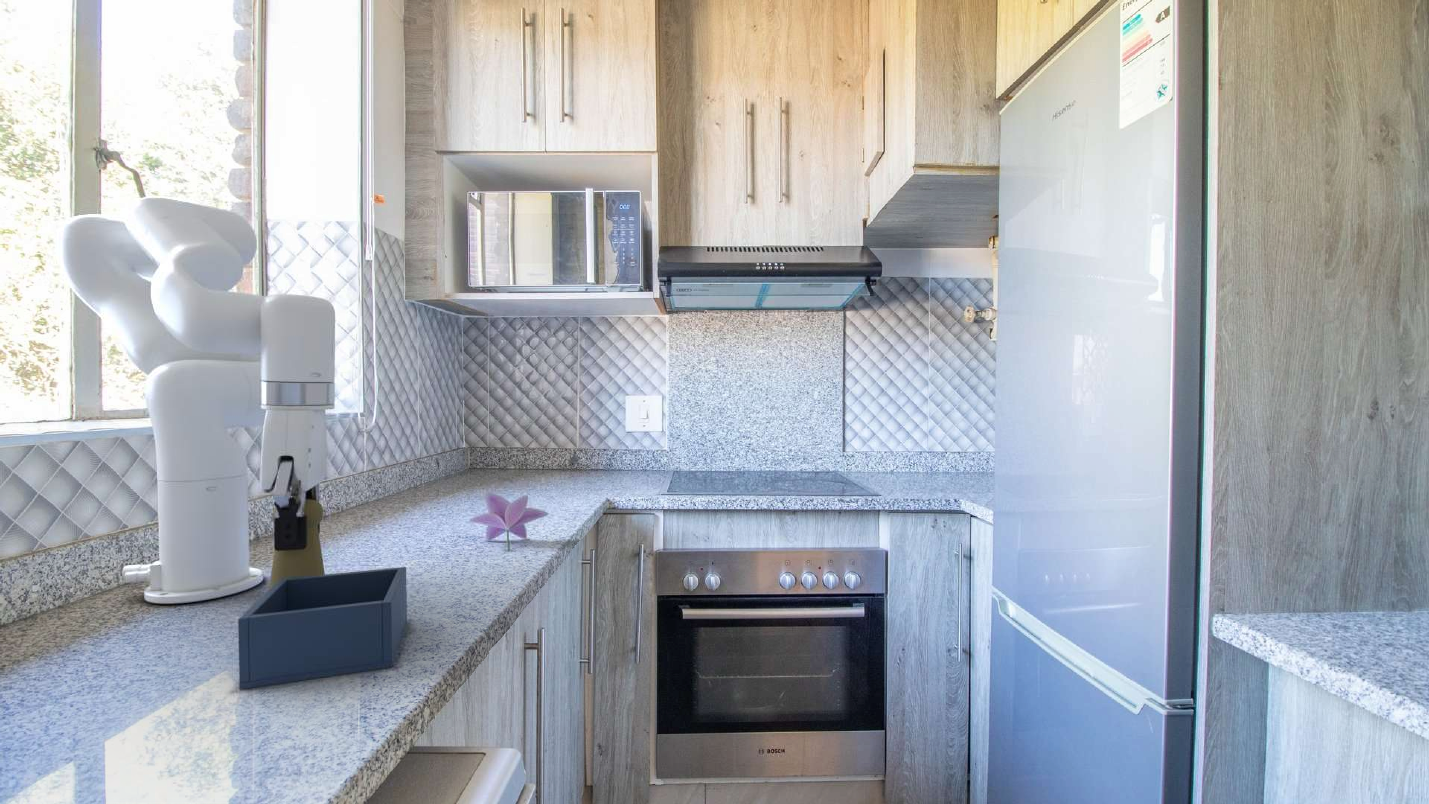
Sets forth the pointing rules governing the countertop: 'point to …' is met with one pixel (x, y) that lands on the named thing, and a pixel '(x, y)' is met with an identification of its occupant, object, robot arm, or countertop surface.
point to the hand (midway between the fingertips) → (298, 541)
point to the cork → (305, 559)
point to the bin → (323, 627)
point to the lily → (507, 516)
